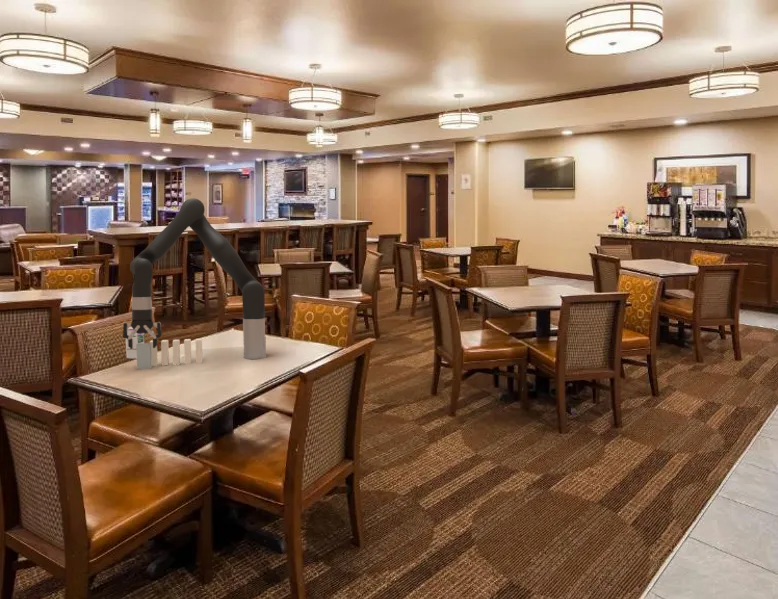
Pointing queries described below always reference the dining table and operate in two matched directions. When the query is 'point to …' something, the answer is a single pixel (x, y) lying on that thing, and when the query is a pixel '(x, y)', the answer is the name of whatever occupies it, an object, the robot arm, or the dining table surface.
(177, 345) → the domino
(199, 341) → the domino
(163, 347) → the domino
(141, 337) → the syrup box
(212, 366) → the dining table surface
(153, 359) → the domino
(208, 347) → the dining table surface
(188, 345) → the domino
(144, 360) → the domino
